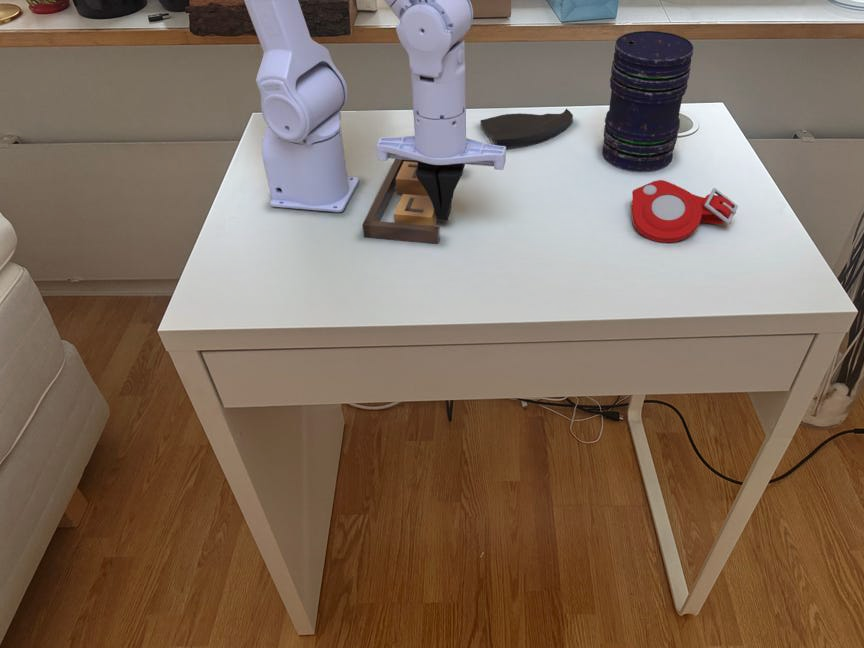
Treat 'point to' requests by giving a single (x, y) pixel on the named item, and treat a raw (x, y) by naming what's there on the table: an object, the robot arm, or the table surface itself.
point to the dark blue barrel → (646, 99)
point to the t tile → (409, 180)
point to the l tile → (415, 210)
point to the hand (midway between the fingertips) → (443, 216)
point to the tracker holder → (676, 211)
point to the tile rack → (390, 229)
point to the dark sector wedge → (525, 128)
